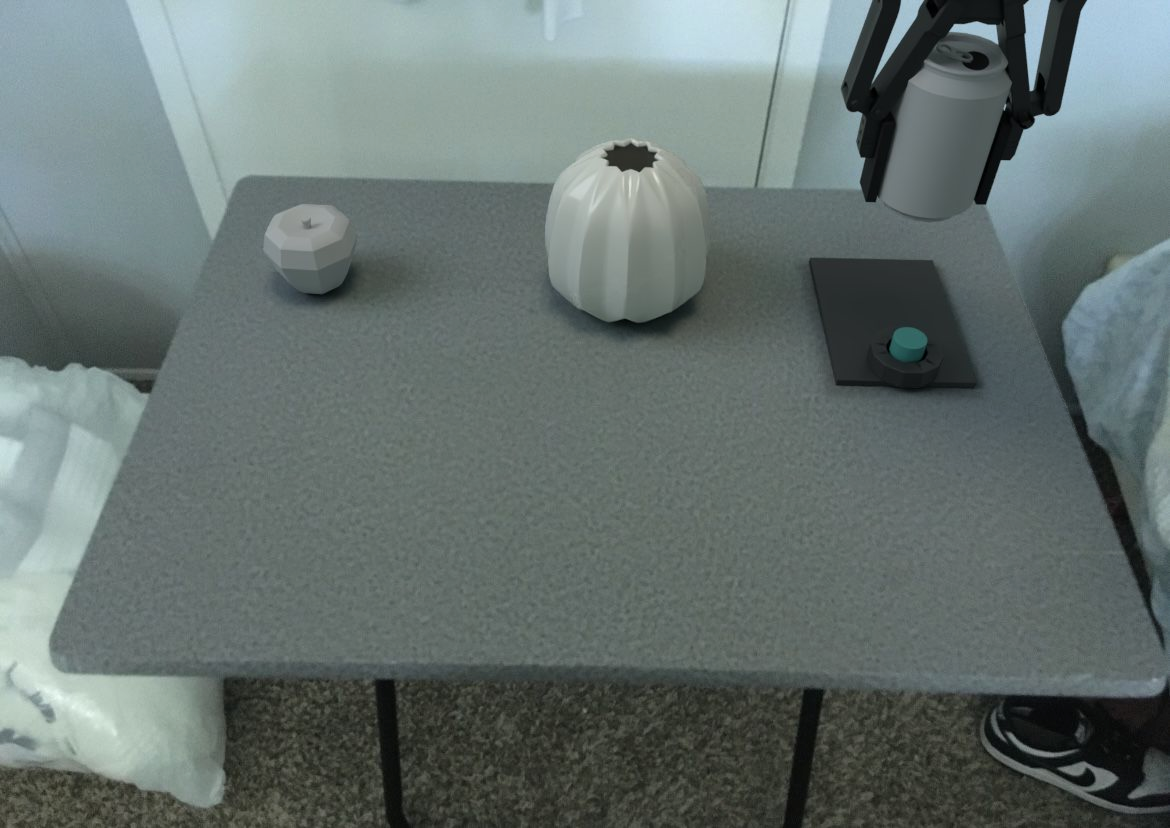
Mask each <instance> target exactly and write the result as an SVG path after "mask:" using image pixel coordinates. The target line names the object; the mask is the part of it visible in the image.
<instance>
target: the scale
mask: <svg viewBox="0 0 1170 828" xmlns="http://www.w3.org/2000/svg"><path fill="white" fill-rule="evenodd" d="M808 263H809V264H808V265H809V269H810V274H811V277H812V283H813V287H814V288H813V289H814V292H815V295H816V300H817V305H818V309H819V314H820V315H819V316H820V319H821V323H822V328H823V332H824V337H825V341H826V346H827V350H828V354H829V359H830V365H831V368H832V373H833V377H834V382H835V385H836V386H864V387H865V386H870V387H899V388H909V389H910V388H912V389H913V388H914V389H915V388H916V389H917V388H956V389H957V388H958V389H959V388H960V389H961V388H962V389H963V388H964V389H965V388H966V389H976V387H977V385H978V381H977V378H976V375H975V373H974V370H973V367H972V364H971V362H970V359H969V356H968V354H967V351H966V348H965V346H964V343H963V339H962V336H961V335H960V331H959V328H958V326H957V323H956V321H955V317H954V315H953V313H952V310H951V307H950V303H949V301H948V299H947V295H946V293H945V289H944V288H943V284H942V282H941V279H940V276H939V274H938V270H937V268H936V265H935V262H934V260H933V259H899V258H898V259H897V258H896V259H895V258H894V259H893V258H851V257H850V258H849V257H809V259H808ZM903 327H911V328H915V329H918V330H920V331H921V332H923V333H924V334H925V335H926V337H927V345H926V348H925V351H924V354H923V357H922V359H921V360H920V361H918V362H916V363H905V362H902V361H900V360H897V359H895V358H894V357H893V356H892V355H891V354H890V351H889V348H890V345H891V341H892V338H893V335H894V332H895V331H896V330H897V329H899V328H903Z"/></svg>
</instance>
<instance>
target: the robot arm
mask: <svg viewBox="0 0 1170 828" xmlns="http://www.w3.org/2000/svg"><path fill="white" fill-rule="evenodd" d="M1029 1H1030V0H923V1H922V3H921V4H920V5H919V8H918V10H917V15H916V17H915V19H914V20H913V22H912V23H911V24H910V26H909V28H908V29H907V31H906V32H905V33H904V35H903V36H902V37H901V39H900V41H899V42H898V44H897V46H896V47H895V49H893V52H892V53H891V54H890V56H889V57H888V59H887V61H886V62H885V63H884V65H883V67H882V68H881V69H880V71H879V73H878V74H877V70H878V69H879V66H880V63H881V61H882V58H883V55H884V53H885V50H886V48H887V45H888V43H889V40H890V37H891V35H892V32H893V29H894V27H895V24H896V22H897V19H898V17H899V14H900V10H901V4H902V0H872V1H871V2H870V5H869V8H868V12H867V14H866V17H865V19H864V22H863V25H862V27H861V30H860V33H859V36H858V39H857V41H856V44H855V47H854V50H853V52H852V56H851V58H850V61H849V64H848V66H847V69H846V71H845V75H844V77H843V80H842V82H841V86H840V92H841V95H842V98H843V99H842V100H843V101H844V105H845V107H846V110H847V111H848V112H850V113H857V112H858V113H860V114H861V118H860V122H859V127H858V131H857V136H856V140H855V144H856V147H857V150H858V151H857V152H858V153H859V157H860V158H862V159H864V162H863V166H862V171H861V175H860V178H859V185H860V189H861V191H862V195H863V197H864V201H865V203H876V202H877V199H878V192H879V188H880V184H881V180H882V176H883V172H884V168H885V164H886V160H887V156H888V152H889V148H890V144H891V140H892V136H893V132H894V128H895V121H894V118H893V116H892V114H891V109H892V107H893V106H894V104H895V103H896V101H897V100H898V99H899V97H900V96H901V94H902V93H903V91H904V90H905V89H906V87H907V85H908V81H909V80H910V79H911V78H913V77H914V76H915V74H916V73H917V71H918V70H919V68H920V67H921V66H922V64H923V63H924V60H926V58H927V57H928V55H929V54H930V53H931V51H932V50H933V48H934V47H935V45H936V44H937V43H938V41H939V40H940V39H943V38H944V37H946V35H947V34H948V33H949V32H951V30H952V28H953V27H954V25H966V24H967V25H968V24H971V23H976V22H978V23H980V24H984V25H987V26H995V28H996V37H997V44H998V45H999V47H1000V48H1001V50H1002V52H1003V54H1004V55H1005V57H1006V59H1007V61H1008V65H1007V67H1006V69H1007V72H1008V75H1009V78H1010V80H1011V82H1012V84H1011V88H1010V91H1009V94H1008V97H1007V100H1006V103H1005V106H1004V109H1003V112H1002V115H1001V118H1000V121H999V124H998V127H997V131H996V134H995V137H994V140H993V143H992V146H991V149H990V152H989V155H988V158H987V161H986V164H985V167H984V170H983V173H982V176H981V179H980V182H979V185H978V189H977V192H976V195H975V198H974V200H973V202H974V204H975V205H976V206H978V205H979V206H981V205H982V206H986V205H987V203H988V201H989V197H990V194H991V191H992V188H993V185H994V183H995V180H996V176H997V173H998V171H999V169H1000V168H999V167H1000V165H1001V161H1011V160H1012V159H1013V158H1014V156H1016V152H1017V150H1018V147H1019V144H1020V141H1021V138H1022V136H1023V132H1024V130H1025V131H1026V130H1028V129H1031V128H1032V127H1033V126H1034V124H1035V122H1036V118H1035V117H1039V116H1041V115H1044V116H1046V117H1052V116H1055V115H1056V114H1057V115H1058V113H1059V112H1060V110H1061V108H1062V105H1063V104H1062V103H1063V99H1064V93H1065V90H1066V85H1067V81H1068V80H1067V79H1068V75H1069V71H1070V70H1069V69H1070V66H1071V61H1072V56H1073V51H1074V46H1075V42H1076V37H1077V36H1076V35H1077V31H1078V28H1079V23H1080V18H1081V13H1082V10H1083V9H1084V7H1085V5H1086V4H1087V1H1088V0H1049V4H1048V9H1047V15H1046V19H1045V26H1044V30H1043V36H1042V41H1041V46H1040V51H1039V57H1038V62H1037V68H1036V74H1035V79H1034V84H1033V89H1032V90H1031V88H1030V78H1029V66H1028V56H1027V45H1026V44H1027V43H1026V34H1027V27H1026V26H1027V25H1026V16H1025V15H1026V14H1025V5H1026V4H1027V3H1028V2H1029ZM876 74H877V76H876Z"/></svg>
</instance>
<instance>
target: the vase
mask: <svg viewBox="0 0 1170 828" xmlns="http://www.w3.org/2000/svg"><path fill="white" fill-rule="evenodd" d="M572 162H573V163H571V164H570V165H568V167H566V168H565V169H564V170H562V172H560V173H559V175H558V177H557V178H556V181H555V182H554V184H553V187H552V189H551V194H550V197H549V202H548V206H547V211H546V215H545V216H546V217H545V226H544V246H545V252H546V256H547V261H548V264H547V265H548V276H549V280H550V281H549V282H550V285H551V286H552V287H553V288H554V289H555V290H556V291H557V292H558V293H559V294H560V295H561V296H562V297H563V298H565V299H566V301H568V302H569V303H570V304H571V305H572V306H574V307H575V308H576V309H577V310H579V311H584V312H586V313H588V314H590V315H591V316H593V317H595V318H597V319H598V320H601V321H603V322H606V323H612V322H617V321H621V320H625V319H626V320H628V321H631V322H634V323H637V324H643V323H646V322H649V321H652V320H654V319H656V318H659V317H662V316H664V315H666V314H671V313H672V312H673V311H675V310H676V309H678V308H679V307H681V306H682V305H684V304H685V303H686V302H687V301H688V300H690V299H691V298H693V297H694V296H695V295H697V294H698V293H699V292H700V291H701V290H702V287H703V285H704V284H703V283H704V281H705V277H706V268H707V259H708V255H709V252H710V247H711V239H712V232H711V230H712V228H711V213H710V204H709V199H708V198H709V197H708V195H707V189H706V188H705V186H704V183H703V181H702V178H701V177H700V176H699V175H698V174H697V173H696V172H695V171H693V170H692V169H691V167H689V166H688V164H687V162H686V160H685V159H684V157H682V156H680V155H679V154H677V153H675V152H674V151H672V150H671V149H669V148H667V147H665V146H663V145H662V144H661V145H660V144H658V143H655V142H653V141H650V140H641V139H638V138H636V137H626V138H623V139H620V140H618V139H611V140H608V141H605V142H602V143H599V144H596V145H594V146H592V147H590V148H588V149H586V150H585V151H583V152H580V153H579V154H578V155H577V156H576V157H575V158H574V161H572Z"/></svg>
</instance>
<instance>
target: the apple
mask: <svg viewBox="0 0 1170 828" xmlns="http://www.w3.org/2000/svg"><path fill="white" fill-rule="evenodd" d="M358 236H359V234H358V233H357V230H356V229H355V227H354V225H353V223H352V222H351V219H350V218H348V216H346V215H344V214H343V213H342V212H341V211H340V210H339V209H337V208H336V207H335V206H334V205H331V204H315V203H314V204H313V203H300V204H298V205H295V206H293V207H291V208H288V209H286V210H285V209H284V210H283V211H281V212H278V213H276V214H274V215H273V217H272V218H271V220H270V223H269V225H268V227H267V229H266V231H265V233H264V235H263V248H262V251H263V253H264V254H265V256H266V258H267V259H268V261H270V263H271V265H272V266H273V267H274V269H275V270H276V271H277V272H278V274H280V275H281V277H283V278H284V279H285V280H286V281H287V282H288V283H289V284H290V285H291V286H292V287H293V288H294V289H296V290H297V291H298V292H300V293H303V294H312V295H324V294H326V293H328V292H330V291H333V290H335V289H337V288H338V287H340V286H341V285H342V284H343V283H344V281H345V279H346V277H347V275H348V273H349V271H350V268H351V264H352V262H353V259H354V256H355V253H356V252H355V251H356V246H357V242H358Z"/></svg>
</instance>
